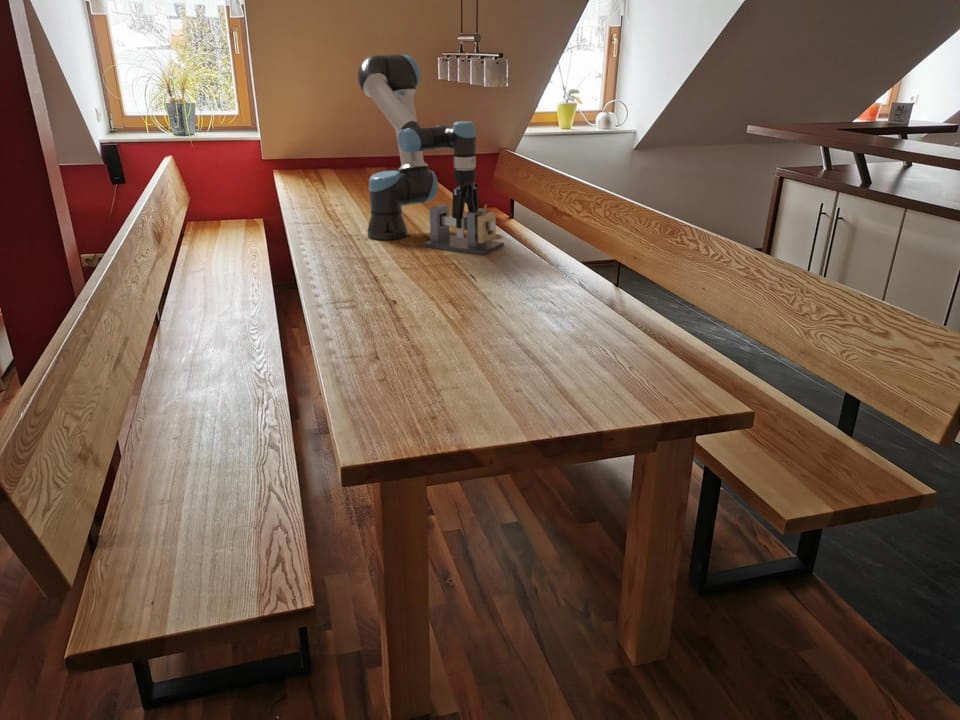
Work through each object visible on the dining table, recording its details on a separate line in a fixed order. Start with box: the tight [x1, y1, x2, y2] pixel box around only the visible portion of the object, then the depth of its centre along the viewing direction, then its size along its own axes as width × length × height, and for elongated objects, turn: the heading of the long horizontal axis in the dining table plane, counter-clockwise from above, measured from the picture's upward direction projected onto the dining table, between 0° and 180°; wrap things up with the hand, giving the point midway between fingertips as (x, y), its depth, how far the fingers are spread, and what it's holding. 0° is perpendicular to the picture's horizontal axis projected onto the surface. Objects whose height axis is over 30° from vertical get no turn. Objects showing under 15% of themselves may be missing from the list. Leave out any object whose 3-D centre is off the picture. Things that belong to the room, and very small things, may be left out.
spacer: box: [478, 211, 497, 243], centre depth 262 cm, size 2×9×9 cm, turn 150°
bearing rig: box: [423, 203, 505, 256], centre depth 267 cm, size 25×14×14 cm, turn 60°
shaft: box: [440, 213, 495, 231], centre depth 266 cm, size 24×4×4 cm, turn 60°
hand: (466, 234), depth 267 cm, fingers open, 7 cm apart
